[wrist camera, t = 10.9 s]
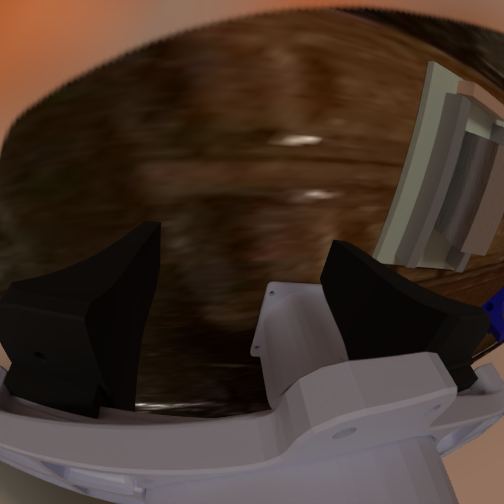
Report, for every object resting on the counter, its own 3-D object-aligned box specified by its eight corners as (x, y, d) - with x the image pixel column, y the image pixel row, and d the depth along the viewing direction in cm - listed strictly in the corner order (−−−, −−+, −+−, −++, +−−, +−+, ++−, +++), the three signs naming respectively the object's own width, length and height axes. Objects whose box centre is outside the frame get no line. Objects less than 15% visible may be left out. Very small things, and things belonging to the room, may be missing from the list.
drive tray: (453, 266, 27) (467, 280, 25) (371, 257, 25) (385, 276, 22) (505, 115, 18) (524, 121, 16) (428, 61, 16) (450, 62, 13)
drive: (453, 228, 23) (485, 255, 19) (426, 222, 23) (460, 251, 18) (482, 142, 19) (520, 159, 15) (456, 127, 18) (499, 143, 14)
